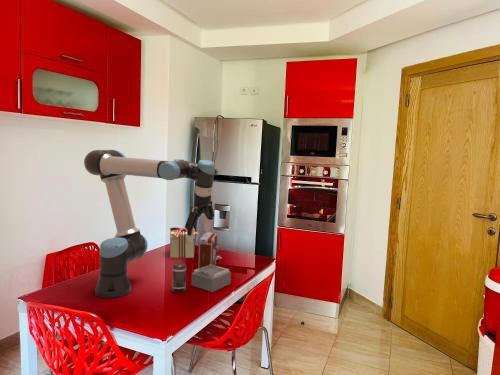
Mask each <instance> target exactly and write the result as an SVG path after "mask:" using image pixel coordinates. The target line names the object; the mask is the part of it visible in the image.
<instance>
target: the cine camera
mask: <svg viewBox="0 0 500 375" xmlns="http://www.w3.org/2000/svg"><path fill="white" fill-rule="evenodd" d="M198 244H199V246H198V268H201V267H204V266H207V265H209V264H211V265H215V266H217V260H216V256H217V253H218V252H219V246H218V234H217V233H213V232H210V231H209V233H208V232H205V233H203V235H201V237H200V238H199V241H198ZM198 268H197V269H198Z"/></svg>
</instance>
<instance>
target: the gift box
mask: <svg viewBox="0 0 500 375" xmlns="http://www.w3.org/2000/svg"><path fill="white" fill-rule="evenodd" d="M194 227H195V226H194ZM194 227H193V229H194V233H193V242H190V241H187V231H188V229H187V228H185V227H176V226H175V227H171V228H169V230H170V235H169V241H170V242H169V259H190V258H191V259H194V258H195V241H196V235H199V234H200V233H199V232H198V231H195V228H194Z"/></svg>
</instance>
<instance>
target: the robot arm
mask: <svg viewBox="0 0 500 375" xmlns="http://www.w3.org/2000/svg"><path fill="white" fill-rule="evenodd" d="M83 165H84V168H85V169H86V171H87V172H88V173H89V174H91V175H93V176H99V177H100V181H101V182H102V183H104V184H105V188H106V192H107V195H108V198H109V199H108V200H109V204H110V208H111V213H112V217H113V220H114V224H115V228H116V234H115V235H114V237H112V238H107V239H105V240H103V241H102V242H101V243H100V245H99V251H98V252H99V277H98V279H97V284H96V286H95V289H94V290H95V293H94V294H95V295H96V296H97V297H100V298H104V299H105V298H106V299H107V298H108V299H109V298H110V299H111V298H112V299H113V298H120V297H124V296H127V295H128V294H130V292H132V284H131V281H130V278H129V276H128V264H130V263H131V262H134V261H136V260H139V259H140V258H142V257H143V256H144V255H145V254H146V252H147V250H148V240H147V239H146V237H145V236H144V235H143V234H141V231H140V229H139V228H137V227H136V223H135V220H134V216H133V212H132V208H131V204H130V200H129V195H128V191H127V187H126V183H125V178H126V177H127V176H133V177H135V176H136V177H143V178H144V177H145V178H157V179H163V180H165V181H174V180H178V179H179V180H180V179H189V180H193V181H195V189H194V198H193V200H194V203H195V205H194V206H191V207H190V212H189V214H188V216H187V220H186V223H185V226H184V228H187V229H188V231H187V241H190V242H193V233H194V229H193V227H195V225H196V224H197V221H198V220H199V217H201V216H202V214H203V215H205V220H204V227H203V231H204V232H205V233H207V232H208V233H209V232H210V230H211V222H212V220H214V217H215V213H214V208H213V201H212V193H213V186H214V184H213V183H214V177H215V173H216V172H215V168H216V166H215V163H214V161H211V160H208V159H200V160H198V163H197V162H191V161H188V160H184V159H179V158H176V159H174V160H172V161H170V160H158V159H150V158H149V159H148V158H147V159H145V158H135V157H127V156H126V155H125V154H124V153H123V152H121V151H119V150H115V149H96V150H91V151H89V152H88V153H86V155H85V157H84V160H83Z"/></svg>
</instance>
